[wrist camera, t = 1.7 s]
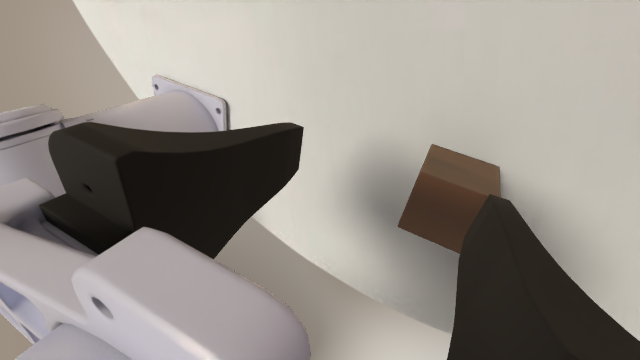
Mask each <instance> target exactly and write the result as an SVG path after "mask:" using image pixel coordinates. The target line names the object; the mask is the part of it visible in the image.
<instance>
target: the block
mask: <svg viewBox="0 0 640 360" xmlns="http://www.w3.org/2000/svg"><path fill="white" fill-rule="evenodd" d="M489 194H492V195H495V196H498V197H501V192H500V171H499V167H498V166H495V165H492V164H490V163H487V162H484V161H481V160H478V159H475V158H472V157H469V156H466V155H463V154H460V153H457V152H454V151H451V150H448V149H445V148H442V147H439V146H436V145H433V144H432V145H431V147H430V149H429V152H428V154H427V157H426V159H425V161H424V164H423V166H422V168H421V171H420V173H419V176H418V178H417V180H416V183H415V185H414V188H413V190H412V192H411V195H410V197H409V200H408V202H407V204H406V207H405V209H404V212H403V214H402V216H401V219H400V221H399V224H398V227H399V228H401V229H404V230H406V231H408V232H411V233H413V234H415V235H418V236H420V237H422V238H424V239H427V240H429V241H431V242H434V243H436V244H438V245H441V246H443V247H445V248H448V249H450V250H452V251H455V252H457V253H459V254H460V253H461V248H462V244H463V240H464V237H465V235H466V233H467V232H468V230H469V228H470V226H471V225H472V223H473V221H474V220H475V218H476V216H477V215H478V213H479V211H480V209H481V208H482V206H483V204H484V203H485V201H486V199H487V198H488V196H489Z"/></svg>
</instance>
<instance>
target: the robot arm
mask: <svg viewBox="0 0 640 360" xmlns="http://www.w3.org/2000/svg"><path fill="white" fill-rule="evenodd" d="M152 83H153V89H154V95H155V96H152V97H148V98H145V99H141V100H138V101H134V102H130V103H127V104H123V105H120V106H116V107H113V108H109V109H105V110H102V111H98V112H95V113H91V114H87V115H84V116H80V117H76V118H70V119H63V118H64V116H63V115H62V113H61V112H60V110H58V109H52V108H51V107H49V106H46V105H44V104H40V105H35V106H30V107H25V108H20V109H16V110H11V111H6V112H2V113H0V314H1V315H3V316H4V317H5V318H6V319H7V320H8V321H9V322H10V323H11V324H12V325H13V326H14V327H15V328H16V329H17V330H19V331H20V332H21V333H22V334H23V335H24V336H25V337H26V338H27V339H28V340H29V341H30V342H31V343H32V344H33V346H31V347H30V348H29V349H27V350H26V351H25V352H23V353H22V354H21V355H19V356H18V357H17V358H16V359H14V360H310V357H311V352H310V346H309V340H308V335H307V332H306V329H305V327H304V326H303V325H302V323H301V322H300V321H299V319H298V318H297V316H296V315H295V314H294V312H293V311H292V309H291V308H290V307H289V306H287V305H286V304H285V303H284V302H282V301H281V300H279V299H278V298H277V297H276V296H275V295H273V294H272V293H271V292H269V291H268V290H267V289H265V288H263V287H261V286H259V285H258V284H256V283H254V282H252V281H251V280H249V279H247V278H245V277H244V276H242V275H240V274H238V273H236V272H235V271H233V270H231V269H230V268H228V267H226V266H224V265H222V264H221V263H219V262H217V261H215V260H214V258H215V257H216V256H217V255H218V253H219V252H220V251H221V250H222V248H223V247H224V246H225V245H226V244H227V242H228V241H229V240H230V239H231V238H232V237H233V235H234V234H235V233H236V232H237V231H238V230H239V229H240V228H241V226H242V225H243V224H244V223H245V222H246V221H247V220H248V219H249V218H250V217H251V216H252V215H253V214H254V213H256V212H257V211H258V210H259V209H260V208H261V207H262V206H263V205H265V204H266V203H267V202H268V201H269V200H270V199H271V198H272V197H274V196H275V195H276V194H277V193H278V192H279V191H280V190H281V189H282V188H283V187H284V186H285V185H286V184H287V183H288V182H289V181H290V180H291V178H292V177H293V176H294V174H295V173H296V172H297V171H298V169H299V161H300V153H301V145H302V137H303V129H304V127H302V126H299V125H296V124H293V123H277V124H270V125H264V126H257V127H251V128H243V129H235V130H227V121H226V103H225V101H224V100H223V99H221V98H219V97H216V96H213V95H211V94H208V93H205V92H203V91H200V90H197V89H194V88H192V87H189V86H186V85H184V84H181V83H178V82H175V81H173V80H170V79H167V78H165V77H162V76H159V75H154V76H153V77H152ZM220 110H221V112H220ZM447 360H640V341H638V340H637V339H636V338H635V337H634V336H632V335H631V334H630V333H629V332H628V331H626V330H625V329H624V328H623V327H622V326H621V325H619V324H618V323H617V322H616V321H615V320H614V319H613V318H612V317H610V316H609V315H608V314H607V313H606V312H605V311H604V310H603V309H601V308H600V307H599V306H598V305H597V304H596V303H595V302H594V301H593V300H592V299H591V298H590V297H589V296H588V295H587V294H586V293H585V292H584V291H583V290H582V289H581V288H580V287H579V286H578V285H577V284H576V283H575V282H574V281H573V280H572V279H571V278H570V277H569V276H568V275H567V274H566V273H565V272H564V270H563V269H562V268H561V267H560V266H559V265H558V264H557V262H556V261H555V260H554V259H553V258H552V256H551V255H550V254H549V253H548V252H547V250H546V249H545V248H544V247H543V245H542V244H541V243H540V241H539V240H538V239H537V237H536V236H535V235H534V233H533V232H532V231H531V229H530V228H529V226H528V225H527V224H526V222H525V221H524V219H523V218H522V217H521V215H520V214H519V212H518V211H517V210H516V208H515V207H514V206H513V204H512V203H511V202H510V201H509V200H506V199H503V198H501V197H498V196H495V195H492V194H489V196H488V198H487V199H486V201H485V203H484V204H483V206H482V208H481V209H480V211H479V213H478V215H477V216H476V218H475V220H474V221H473V223H472V225H471V226H470V228H469V230H468V232H467V233H466V235H465V237H464V240H463V244H462V248H461V253H460V257H459V265H458V278H457V292H456V307H455V318H454V327H453V332H452V337H451V343H450V348H449V353H448V358H447Z"/></svg>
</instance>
